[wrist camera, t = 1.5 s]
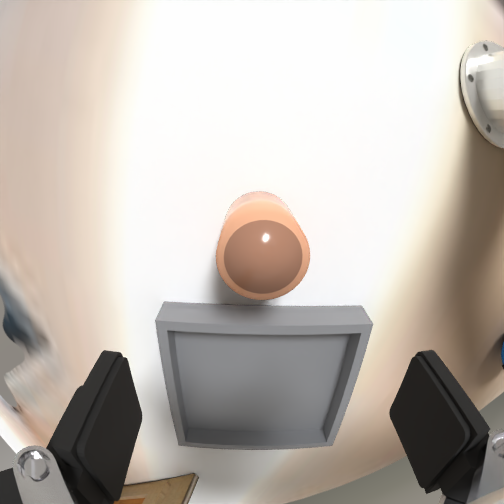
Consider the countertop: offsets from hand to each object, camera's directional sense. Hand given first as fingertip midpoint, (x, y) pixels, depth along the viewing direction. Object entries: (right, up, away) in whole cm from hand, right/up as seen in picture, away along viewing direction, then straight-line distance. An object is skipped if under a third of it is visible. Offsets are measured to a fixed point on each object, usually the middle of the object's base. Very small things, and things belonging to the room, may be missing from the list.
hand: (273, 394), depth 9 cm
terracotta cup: (0, +7, +18) cm, 20 cm away
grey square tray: (0, -10, +24) cm, 26 cm away
